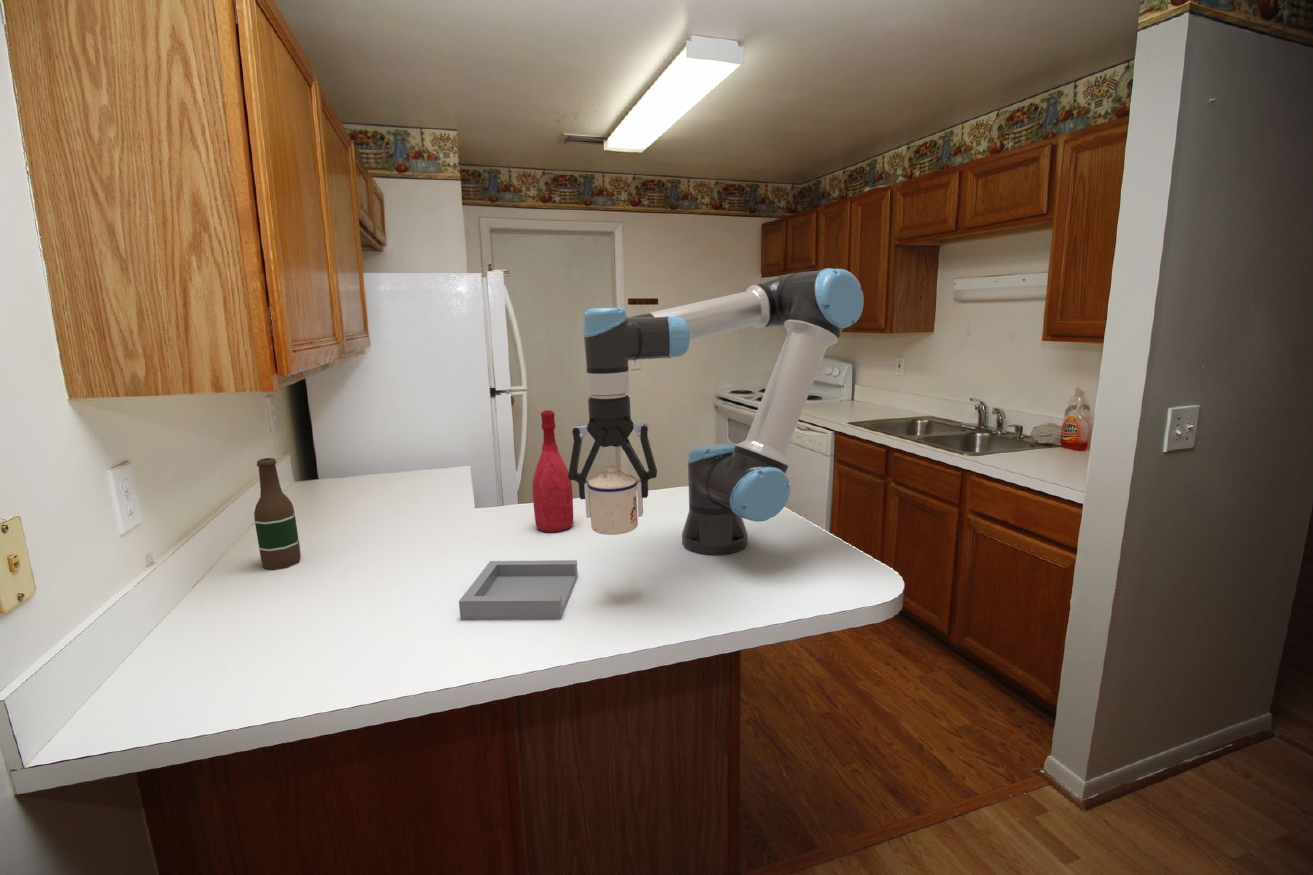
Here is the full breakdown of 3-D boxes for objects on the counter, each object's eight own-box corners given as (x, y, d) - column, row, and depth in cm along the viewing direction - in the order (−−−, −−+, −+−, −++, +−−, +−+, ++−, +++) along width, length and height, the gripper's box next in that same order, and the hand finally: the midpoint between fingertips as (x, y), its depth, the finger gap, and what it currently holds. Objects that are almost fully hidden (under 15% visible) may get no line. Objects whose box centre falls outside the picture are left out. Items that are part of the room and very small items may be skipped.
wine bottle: (566, 534, 150) (559, 413, 144) (529, 532, 152) (520, 413, 146) (579, 521, 159) (573, 407, 153) (543, 519, 161) (536, 407, 155)
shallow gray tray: (577, 576, 126) (576, 560, 125) (560, 618, 108) (559, 600, 107) (491, 576, 127) (490, 560, 126) (460, 619, 109) (458, 601, 108)
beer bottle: (307, 562, 137) (291, 458, 132) (267, 573, 131) (250, 465, 127) (295, 553, 142) (280, 453, 137) (257, 564, 137) (240, 460, 132)
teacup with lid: (643, 533, 110) (640, 470, 108) (592, 538, 108) (589, 474, 106) (632, 512, 122) (629, 455, 119) (586, 516, 120) (583, 459, 117)
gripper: (669, 390, 113) (673, 507, 118) (553, 394, 114) (561, 509, 119) (668, 396, 106) (672, 520, 110) (544, 400, 107) (553, 522, 111)
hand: (615, 514), depth 114 cm, fingers closed on teacup with lid, 9 cm apart
